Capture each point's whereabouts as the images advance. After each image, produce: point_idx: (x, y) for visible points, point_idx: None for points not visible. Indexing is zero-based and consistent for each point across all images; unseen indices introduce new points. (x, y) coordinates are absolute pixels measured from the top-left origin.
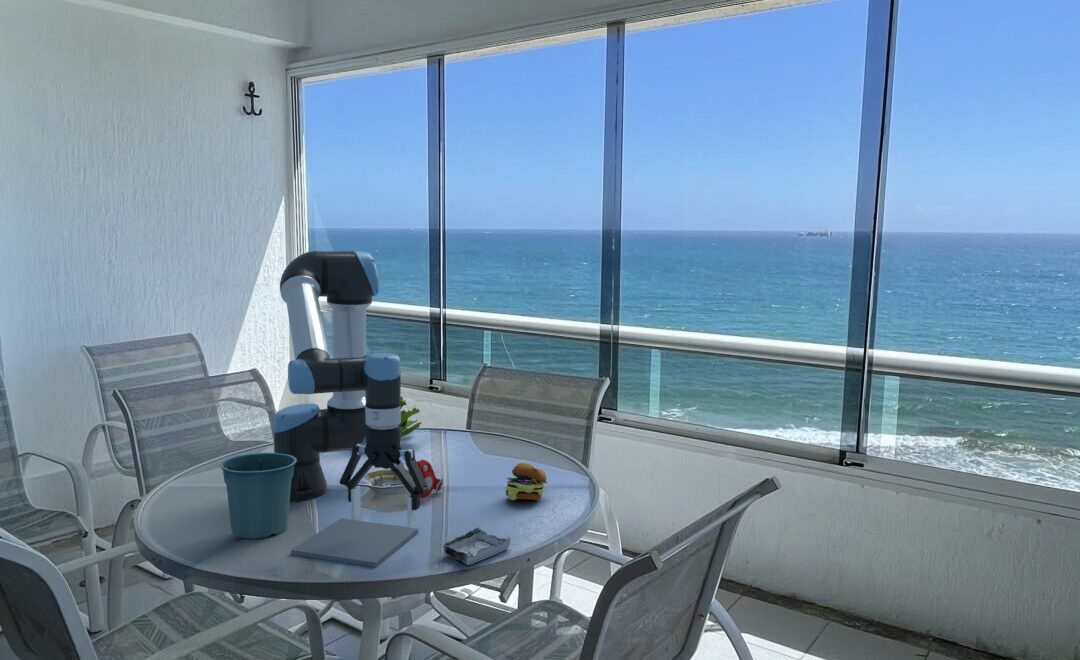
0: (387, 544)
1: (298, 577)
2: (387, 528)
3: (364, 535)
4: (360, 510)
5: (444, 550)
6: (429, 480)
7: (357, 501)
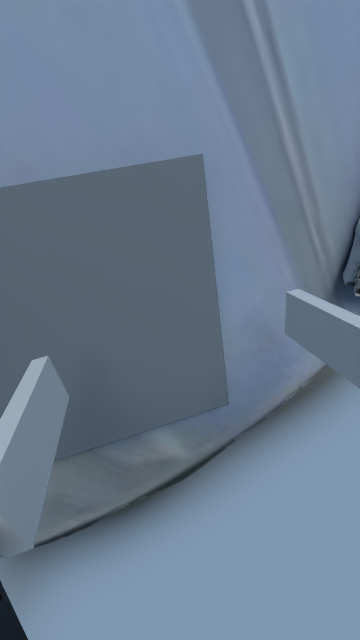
0: (192, 324)
1: (127, 491)
2: (99, 219)
3: (82, 315)
4: (42, 366)
5: (346, 282)
6: None
7: (39, 430)
